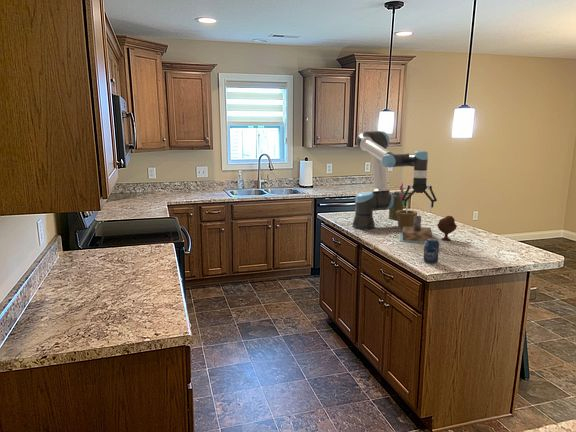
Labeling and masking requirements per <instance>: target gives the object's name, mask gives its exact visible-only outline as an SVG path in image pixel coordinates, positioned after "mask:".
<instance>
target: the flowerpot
mask: <svg viewBox="0 0 576 432" xmlns="http://www.w3.org/2000/svg"><path fill="white" fill-rule="evenodd" d="M399 190H400V191H399V192H400V193H399V195H400V201H401V199H402V197H403V195H404V194H405V192H404V183H403V182H401V185H400V187H399ZM407 197H408V196H406V197H405V198H404V199H406V198H407ZM404 203H405V202H404V201H403V203H402V204H403V206H404ZM409 207H410V204H408V208H409ZM396 215H397V218H398V220H397V226H398V228H401V229H403V226H406V227H414V216H418V211H415V210H409V209H408V211H407V212H406V209H403V210H398V211H396Z"/></svg>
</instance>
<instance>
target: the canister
mask: <svg viewBox="0 0 576 432" xmlns="http://www.w3.org/2000/svg"><path fill="white" fill-rule="evenodd" d="M400 192H401V191H393V194H392V193H391V194H392V196H393V198H394V202H393V205H392V207H391V208H390V209H388V220H393V221H398V218H397V215H396V211H398V210H404V205H403V204H402V203H403V202H404V201H403V200H402V199H401V201H400Z"/></svg>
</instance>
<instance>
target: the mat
mask: <svg viewBox="0 0 576 432" xmlns="http://www.w3.org/2000/svg"><path fill="white" fill-rule="evenodd" d="M432 238H435V237H434V235H433V234H432ZM399 242H402V243H403V242H404V243H405V242H406V243H420V244H421V243H422V244H425V241H410V240H403V232H399Z"/></svg>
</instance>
